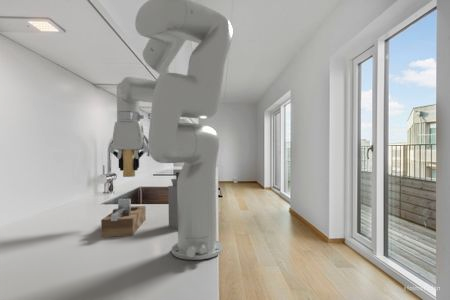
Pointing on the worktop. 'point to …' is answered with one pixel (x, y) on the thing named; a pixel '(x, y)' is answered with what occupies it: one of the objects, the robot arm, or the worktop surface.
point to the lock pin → (121, 209)
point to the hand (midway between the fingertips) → (129, 169)
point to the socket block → (124, 222)
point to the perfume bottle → (173, 203)
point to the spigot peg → (128, 163)
